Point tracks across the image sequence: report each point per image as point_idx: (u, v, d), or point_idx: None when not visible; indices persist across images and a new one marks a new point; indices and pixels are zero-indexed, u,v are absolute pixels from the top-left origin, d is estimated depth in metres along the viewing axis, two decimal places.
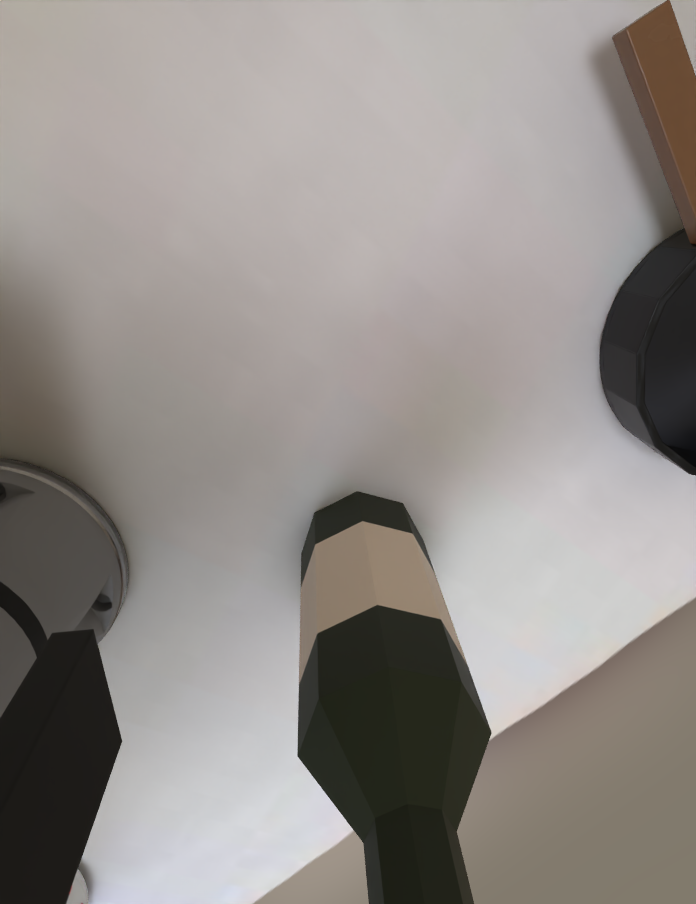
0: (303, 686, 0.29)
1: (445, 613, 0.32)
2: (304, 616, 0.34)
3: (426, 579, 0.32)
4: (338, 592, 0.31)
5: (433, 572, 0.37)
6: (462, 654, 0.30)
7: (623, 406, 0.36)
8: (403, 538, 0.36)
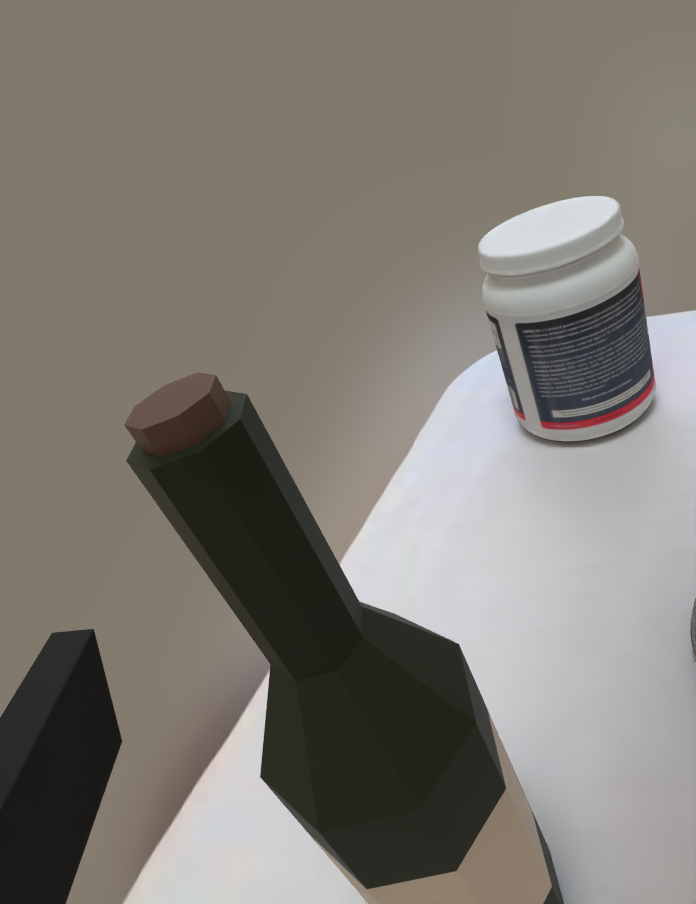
0: (485, 714, 0.23)
1: (356, 885, 0.24)
2: (516, 785, 0.26)
3: None
4: (503, 851, 0.22)
5: None
6: (319, 844, 0.23)
7: None
8: None
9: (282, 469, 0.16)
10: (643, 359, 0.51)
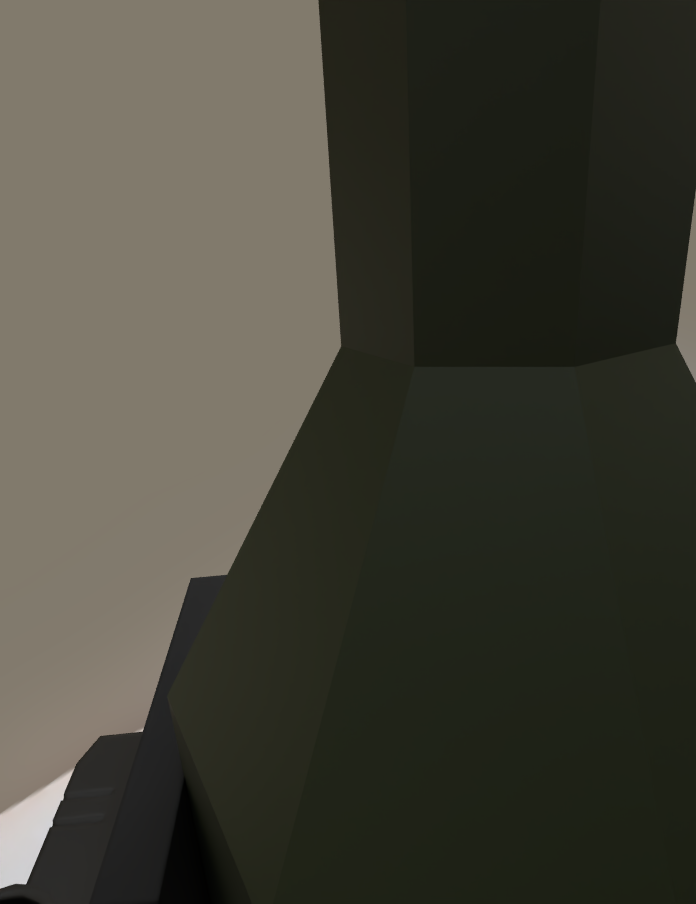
0: None
1: None
2: None
3: None
4: None
5: None
6: None
7: None
8: None
9: None
10: None
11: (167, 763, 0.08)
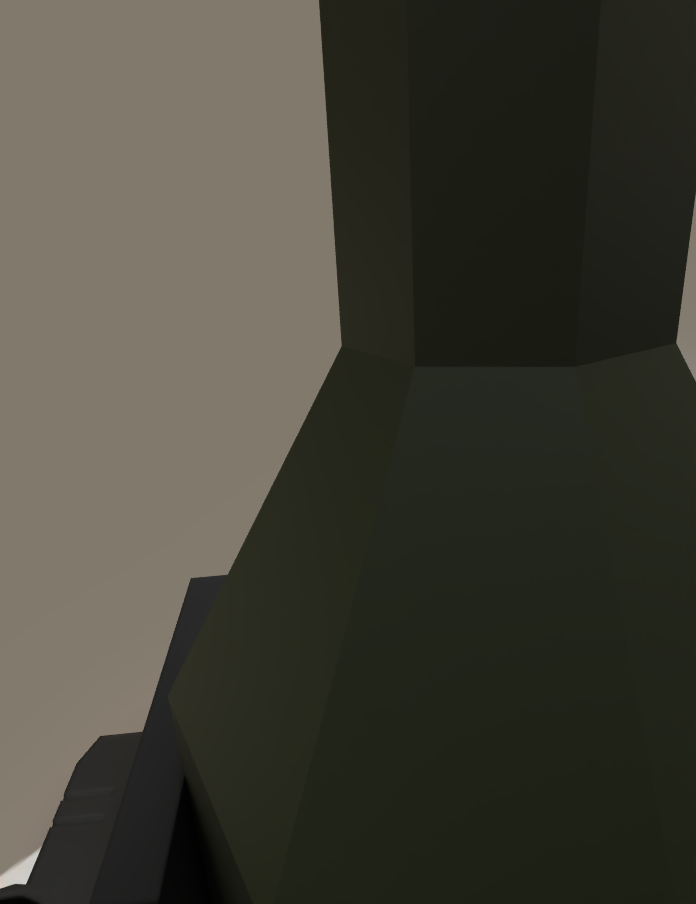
0: None
1: None
2: None
3: None
4: None
5: None
6: None
7: None
8: None
9: None
10: None
11: (167, 763, 0.08)
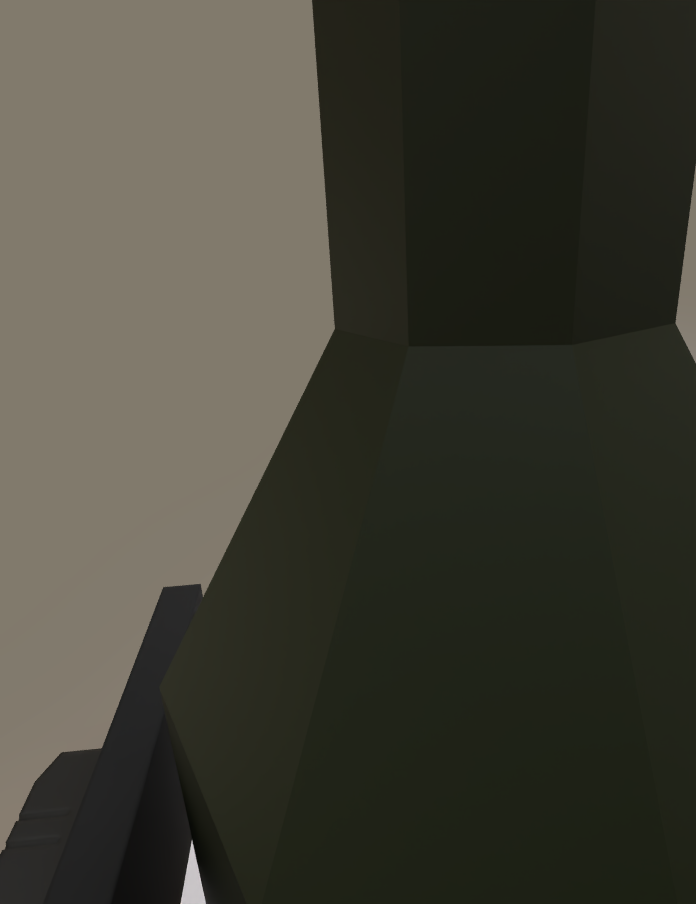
0: None
1: None
2: None
3: None
4: None
5: None
6: None
7: None
8: None
9: None
10: None
11: (123, 784, 0.08)
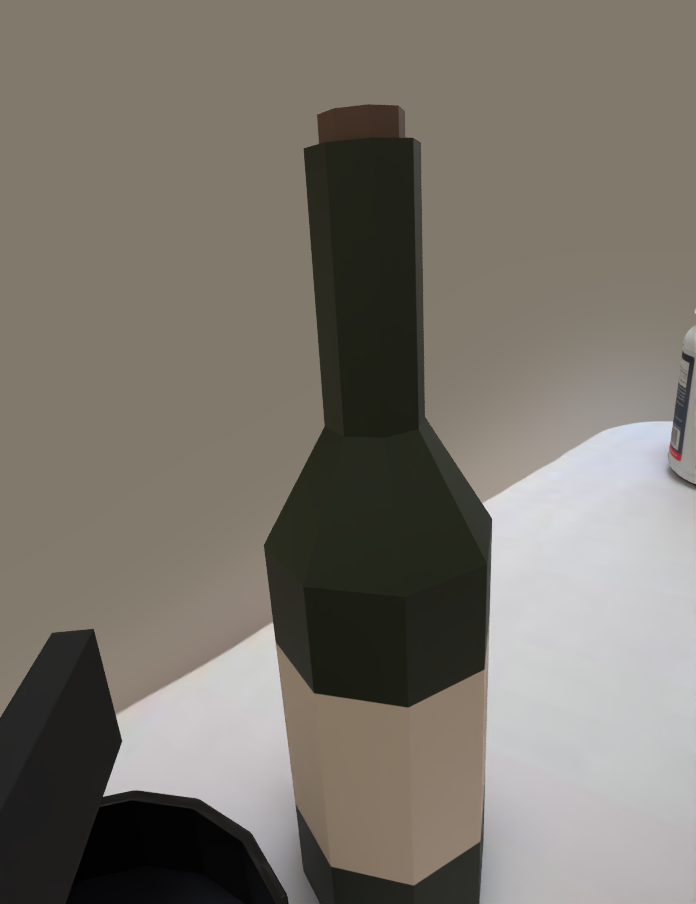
0: None
1: (296, 720, 0.23)
2: None
3: (323, 769, 0.21)
4: (454, 739, 0.21)
5: (298, 802, 0.25)
6: (281, 657, 0.23)
7: None
8: (348, 854, 0.23)
9: (419, 225, 0.18)
10: None
11: None
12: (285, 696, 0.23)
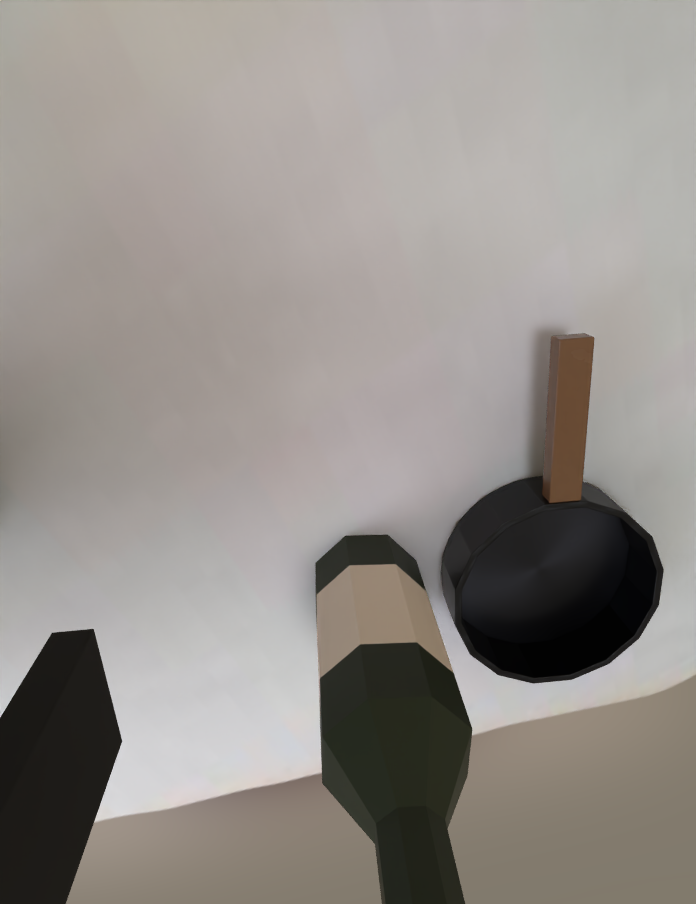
0: (330, 681, 0.34)
1: None
2: (328, 621, 0.38)
3: (440, 635, 0.38)
4: (378, 617, 0.36)
5: None
6: None
7: (448, 582, 0.45)
8: (421, 591, 0.42)
9: None
10: None
11: None
12: None
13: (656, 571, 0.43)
